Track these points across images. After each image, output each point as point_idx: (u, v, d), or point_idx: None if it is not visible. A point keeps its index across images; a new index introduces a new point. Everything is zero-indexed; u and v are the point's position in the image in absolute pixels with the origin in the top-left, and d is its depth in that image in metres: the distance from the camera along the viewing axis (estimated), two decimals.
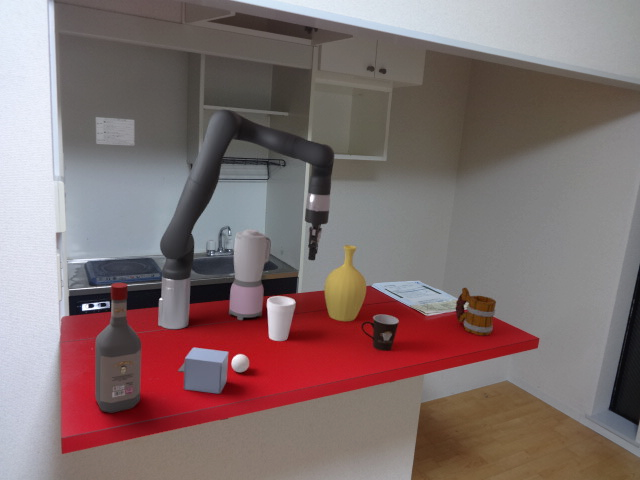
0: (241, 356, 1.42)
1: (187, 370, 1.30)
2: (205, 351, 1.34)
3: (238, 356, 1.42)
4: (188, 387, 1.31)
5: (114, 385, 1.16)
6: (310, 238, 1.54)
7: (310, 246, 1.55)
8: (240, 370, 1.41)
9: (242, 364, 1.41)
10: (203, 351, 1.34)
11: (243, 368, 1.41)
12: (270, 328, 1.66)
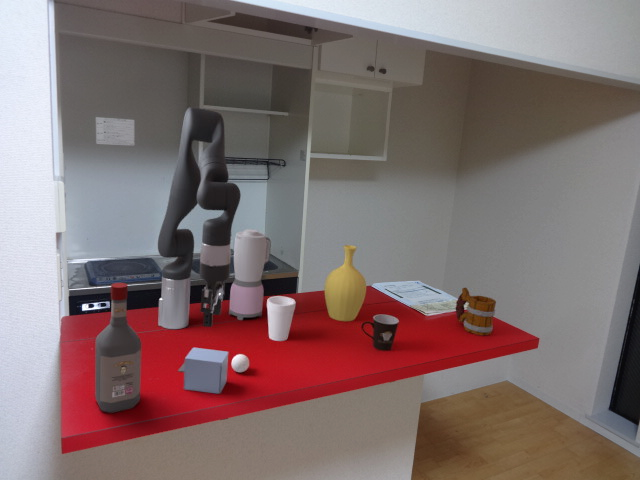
0: (241, 356, 1.42)
1: (187, 370, 1.30)
2: (205, 351, 1.34)
3: (238, 356, 1.42)
4: (188, 387, 1.31)
5: (114, 385, 1.16)
6: (202, 301, 1.22)
7: (203, 311, 1.23)
8: (240, 370, 1.41)
9: (242, 364, 1.41)
10: (203, 351, 1.34)
11: (243, 368, 1.41)
12: (270, 328, 1.66)
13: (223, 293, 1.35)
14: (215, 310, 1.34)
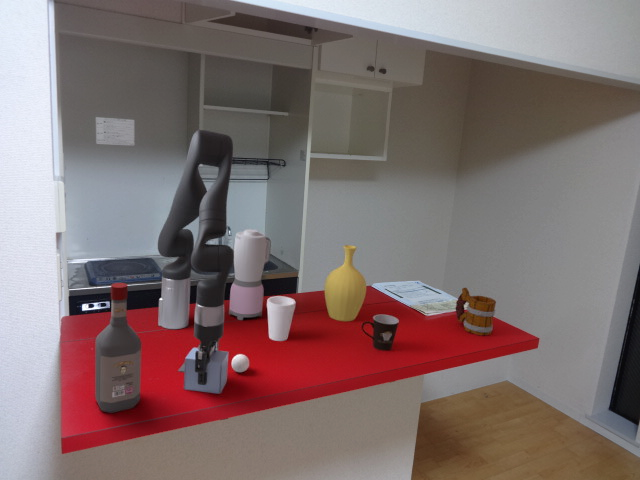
0: (241, 356, 1.42)
1: (187, 370, 1.30)
2: None
3: (238, 356, 1.42)
4: (188, 387, 1.31)
5: (114, 385, 1.16)
6: (196, 362, 1.25)
7: (197, 371, 1.26)
8: (240, 370, 1.41)
9: (242, 364, 1.41)
10: None
11: (243, 368, 1.41)
12: (270, 328, 1.66)
13: None
14: None
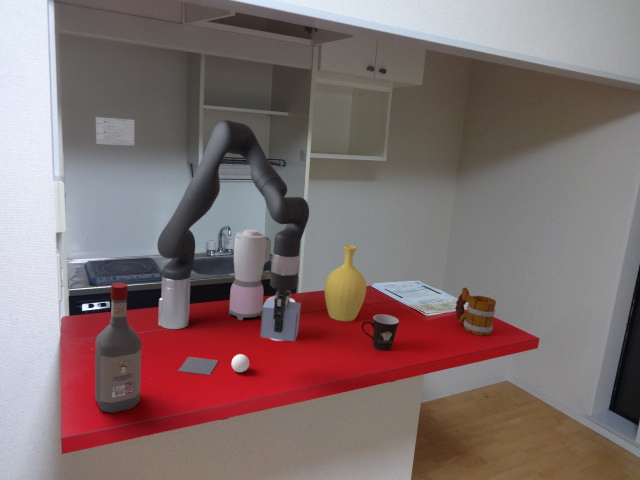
0: (241, 356, 1.42)
1: (264, 318, 1.36)
2: None
3: (238, 356, 1.42)
4: (264, 335, 1.37)
5: (114, 385, 1.16)
6: (275, 309, 1.32)
7: (275, 318, 1.32)
8: (240, 370, 1.41)
9: (242, 364, 1.41)
10: None
11: (243, 368, 1.41)
12: None
13: None
14: None
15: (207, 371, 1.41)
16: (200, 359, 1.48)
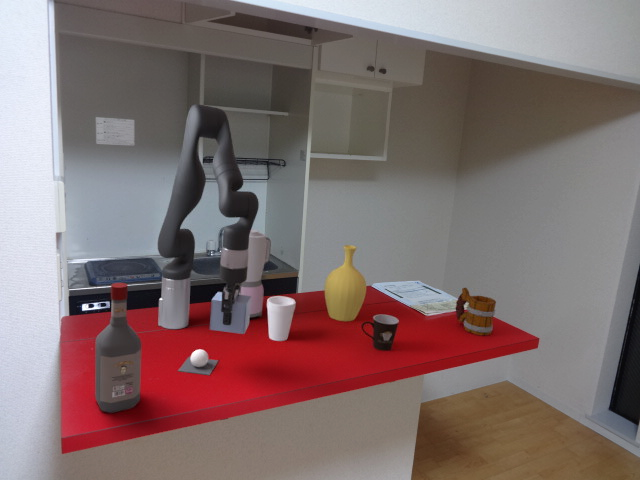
0: (207, 361, 1.43)
1: (213, 311, 1.37)
2: None
3: (206, 358, 1.43)
4: (214, 327, 1.38)
5: (114, 385, 1.16)
6: (222, 302, 1.33)
7: (223, 310, 1.34)
8: (193, 362, 1.41)
9: (199, 365, 1.41)
10: None
11: (195, 365, 1.42)
12: (270, 328, 1.66)
13: None
14: None
15: (207, 371, 1.41)
16: None
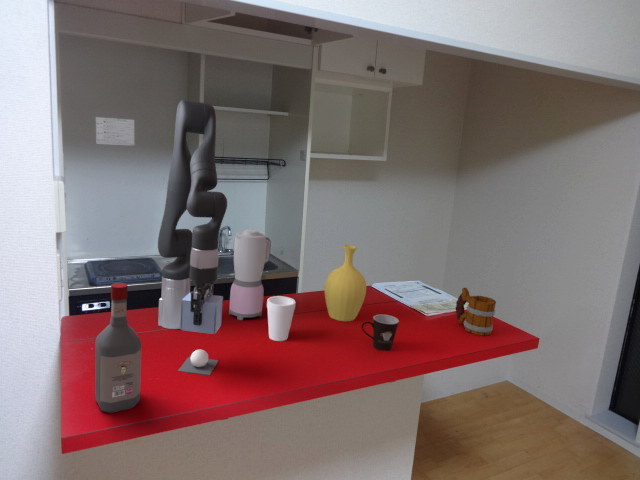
0: (207, 361, 1.43)
1: (184, 311, 1.37)
2: None
3: (206, 358, 1.43)
4: (185, 328, 1.38)
5: (114, 385, 1.16)
6: (192, 302, 1.33)
7: (192, 310, 1.34)
8: (193, 362, 1.41)
9: (199, 365, 1.41)
10: None
11: (195, 365, 1.42)
12: (270, 328, 1.66)
13: None
14: None
15: (207, 371, 1.41)
16: None
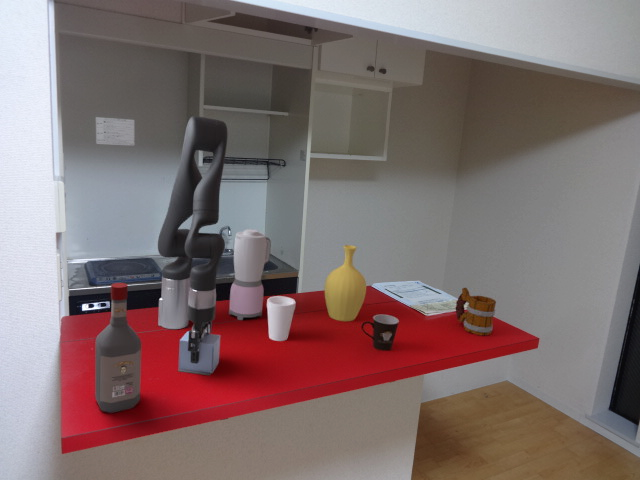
0: None
1: (182, 351, 1.40)
2: None
3: None
4: (182, 367, 1.41)
5: (114, 385, 1.16)
6: (189, 341, 1.35)
7: (190, 350, 1.35)
8: None
9: None
10: None
11: None
12: (270, 328, 1.66)
13: (210, 330, 1.48)
14: None
15: None
16: None
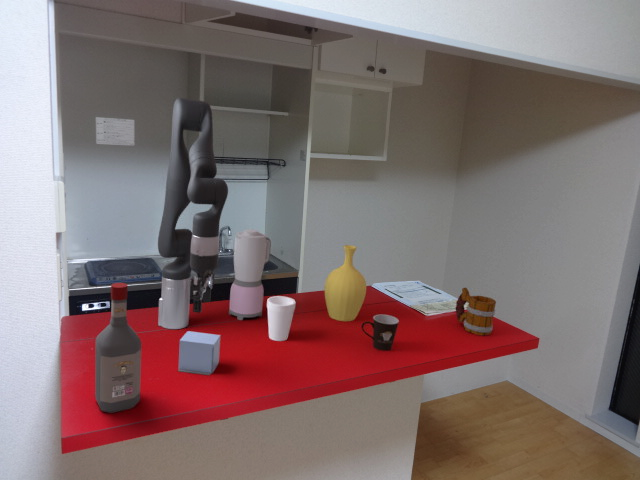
0: None
1: (182, 351, 1.40)
2: (198, 334, 1.44)
3: None
4: (182, 367, 1.41)
5: (114, 385, 1.16)
6: (192, 288, 1.32)
7: (192, 297, 1.32)
8: None
9: None
10: (197, 334, 1.44)
11: None
12: (270, 328, 1.66)
13: (213, 282, 1.45)
14: (205, 297, 1.44)
15: None
16: None
